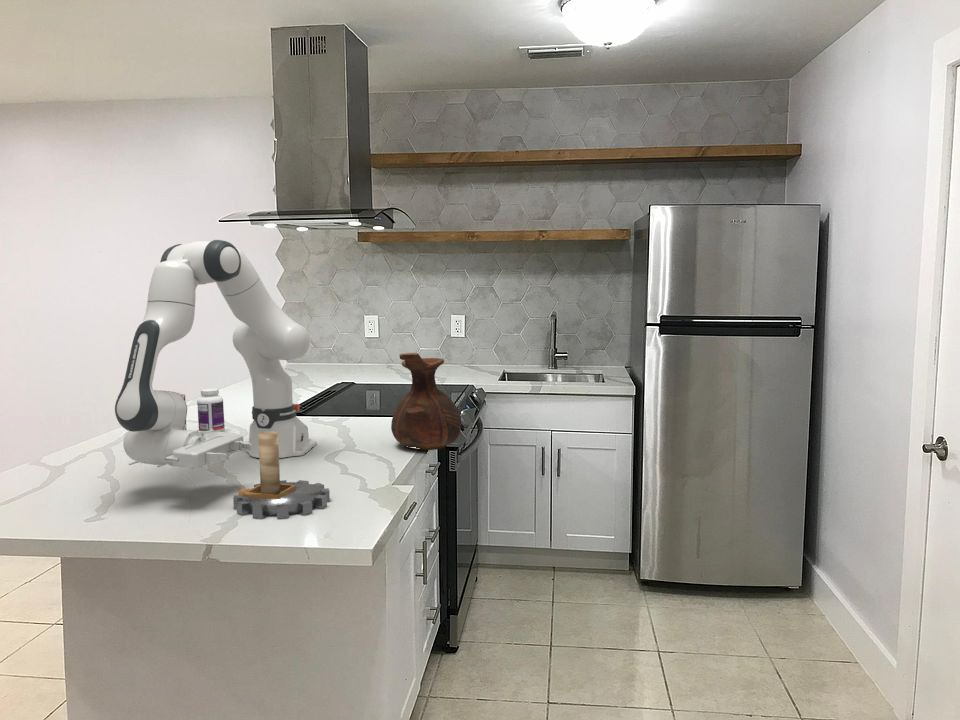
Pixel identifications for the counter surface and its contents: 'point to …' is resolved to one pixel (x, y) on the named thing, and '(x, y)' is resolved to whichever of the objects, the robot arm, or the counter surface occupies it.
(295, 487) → the sprocket
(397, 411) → the jug
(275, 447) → the drive pin
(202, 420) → the pill bottle
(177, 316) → the robot arm
